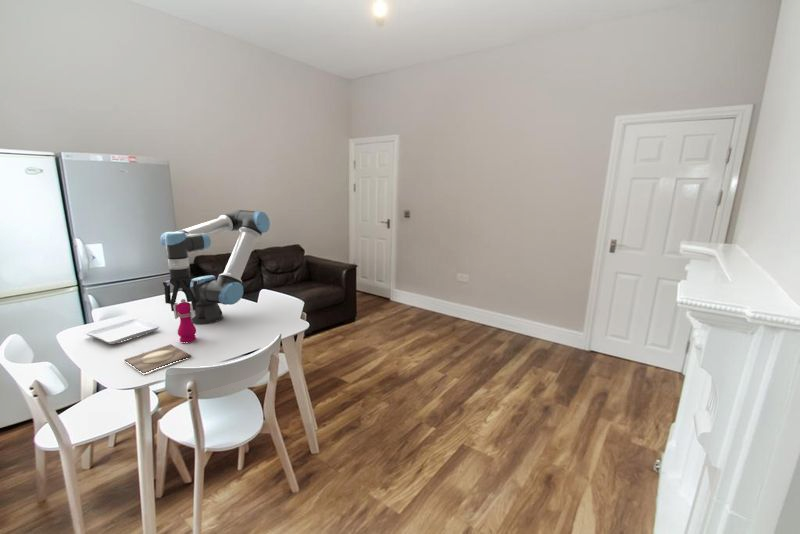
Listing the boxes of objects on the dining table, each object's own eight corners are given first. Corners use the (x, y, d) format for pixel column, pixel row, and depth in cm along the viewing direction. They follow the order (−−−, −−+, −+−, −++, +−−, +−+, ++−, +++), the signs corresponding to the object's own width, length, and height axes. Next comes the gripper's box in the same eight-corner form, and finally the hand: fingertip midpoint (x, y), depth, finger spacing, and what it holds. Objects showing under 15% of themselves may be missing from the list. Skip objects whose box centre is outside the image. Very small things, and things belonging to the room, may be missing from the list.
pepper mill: (184, 345, 154) (178, 302, 150) (175, 341, 158) (170, 299, 154) (200, 339, 160) (195, 298, 156) (192, 335, 164) (187, 295, 160)
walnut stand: (124, 362, 139) (124, 358, 139) (171, 346, 153) (170, 343, 153) (143, 375, 130) (143, 371, 130) (191, 357, 144) (190, 354, 144)
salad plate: (136, 323, 177) (135, 317, 177) (161, 332, 168) (160, 325, 168) (85, 339, 159) (84, 332, 158) (110, 349, 150) (109, 342, 149)
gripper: (150, 270, 146) (157, 321, 151) (200, 269, 150) (205, 319, 155) (158, 266, 153) (165, 315, 158) (205, 265, 157) (210, 313, 162)
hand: (185, 317), depth 157 cm, fingers open, 6 cm apart
